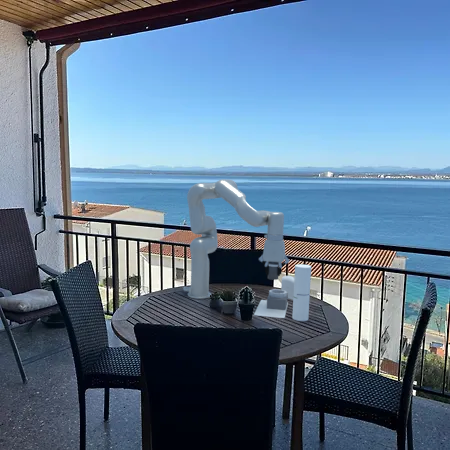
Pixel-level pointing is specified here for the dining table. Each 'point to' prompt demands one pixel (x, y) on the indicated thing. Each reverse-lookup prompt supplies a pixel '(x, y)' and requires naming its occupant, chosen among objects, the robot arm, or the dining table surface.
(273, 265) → the lens
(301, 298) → the cylindrical container
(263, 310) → the board
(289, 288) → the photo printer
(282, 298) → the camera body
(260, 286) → the dining table surface
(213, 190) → the robot arm
